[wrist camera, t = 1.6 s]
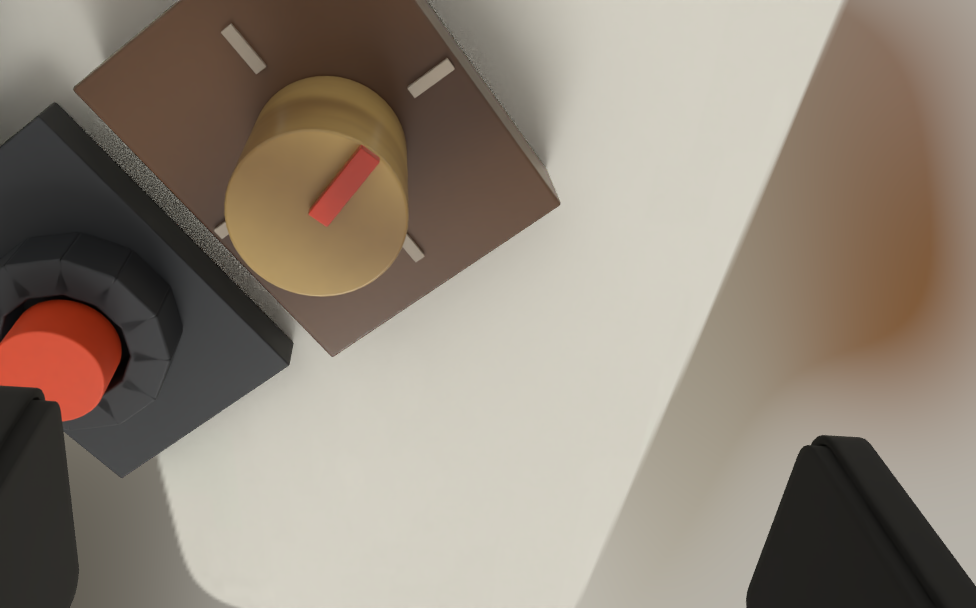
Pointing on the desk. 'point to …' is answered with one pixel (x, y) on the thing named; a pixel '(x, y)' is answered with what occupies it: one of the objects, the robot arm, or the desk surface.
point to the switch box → (126, 292)
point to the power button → (62, 354)
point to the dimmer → (341, 53)
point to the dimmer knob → (321, 188)
